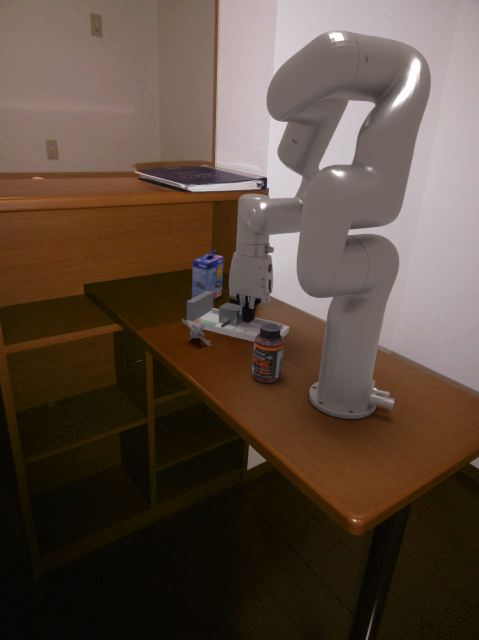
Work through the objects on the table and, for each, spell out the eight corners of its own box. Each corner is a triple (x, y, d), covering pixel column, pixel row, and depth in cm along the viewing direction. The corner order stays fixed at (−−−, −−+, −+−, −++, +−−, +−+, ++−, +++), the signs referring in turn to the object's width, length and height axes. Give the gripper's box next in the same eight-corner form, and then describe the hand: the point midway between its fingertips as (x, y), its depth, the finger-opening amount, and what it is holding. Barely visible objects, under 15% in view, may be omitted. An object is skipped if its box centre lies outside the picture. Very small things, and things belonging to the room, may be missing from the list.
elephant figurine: (217, 335, 112) (219, 338, 104) (202, 351, 112) (202, 355, 103) (190, 310, 111) (189, 310, 103) (175, 326, 111) (172, 328, 103)
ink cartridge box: (207, 304, 131) (208, 255, 125) (190, 300, 133) (191, 252, 127) (223, 294, 139) (224, 248, 134) (207, 291, 141) (208, 245, 136)
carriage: (243, 320, 117) (244, 306, 115) (231, 330, 111) (231, 314, 109) (226, 316, 118) (226, 302, 117) (213, 325, 113) (213, 310, 111)
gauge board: (288, 331, 115) (291, 308, 113) (273, 346, 107) (276, 321, 104) (206, 313, 125) (206, 290, 122) (186, 325, 116) (186, 301, 114)
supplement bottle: (247, 380, 92) (250, 329, 88) (257, 367, 97) (260, 318, 93) (275, 387, 90) (280, 335, 86) (284, 373, 95) (289, 324, 91)
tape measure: (249, 314, 126) (250, 301, 124) (225, 312, 126) (225, 299, 125) (252, 305, 132) (253, 293, 130) (229, 303, 133) (229, 291, 131)
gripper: (287, 250, 107) (281, 322, 114) (231, 241, 113) (228, 310, 120) (275, 257, 101) (269, 332, 108) (216, 247, 106) (214, 319, 113)
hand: (248, 320), depth 114 cm, fingers closed
